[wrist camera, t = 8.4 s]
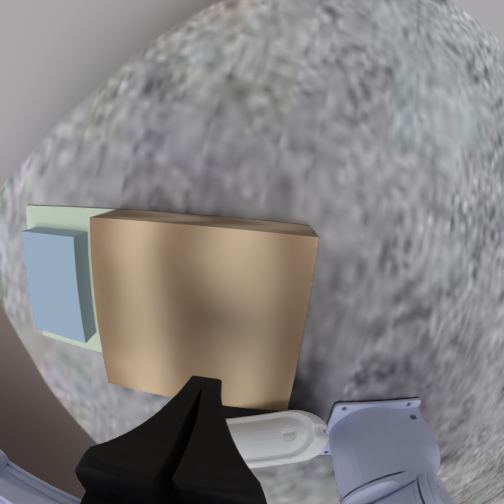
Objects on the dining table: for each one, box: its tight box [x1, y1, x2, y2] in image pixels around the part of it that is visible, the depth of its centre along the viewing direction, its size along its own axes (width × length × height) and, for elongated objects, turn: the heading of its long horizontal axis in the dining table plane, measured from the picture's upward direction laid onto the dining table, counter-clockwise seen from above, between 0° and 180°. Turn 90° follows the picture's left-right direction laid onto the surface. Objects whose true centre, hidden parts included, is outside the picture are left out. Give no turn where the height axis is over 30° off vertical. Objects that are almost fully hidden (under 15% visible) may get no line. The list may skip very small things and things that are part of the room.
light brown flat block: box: [90, 209, 319, 411], centre depth 20 cm, size 14×13×4 cm
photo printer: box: [226, 410, 329, 468], centre depth 21 cm, size 10×4×12 cm
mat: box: [26, 205, 116, 353], centre depth 22 cm, size 10×13×1 cm
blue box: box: [22, 227, 96, 343], centre depth 21 cm, size 6×9×2 cm, turn 175°
